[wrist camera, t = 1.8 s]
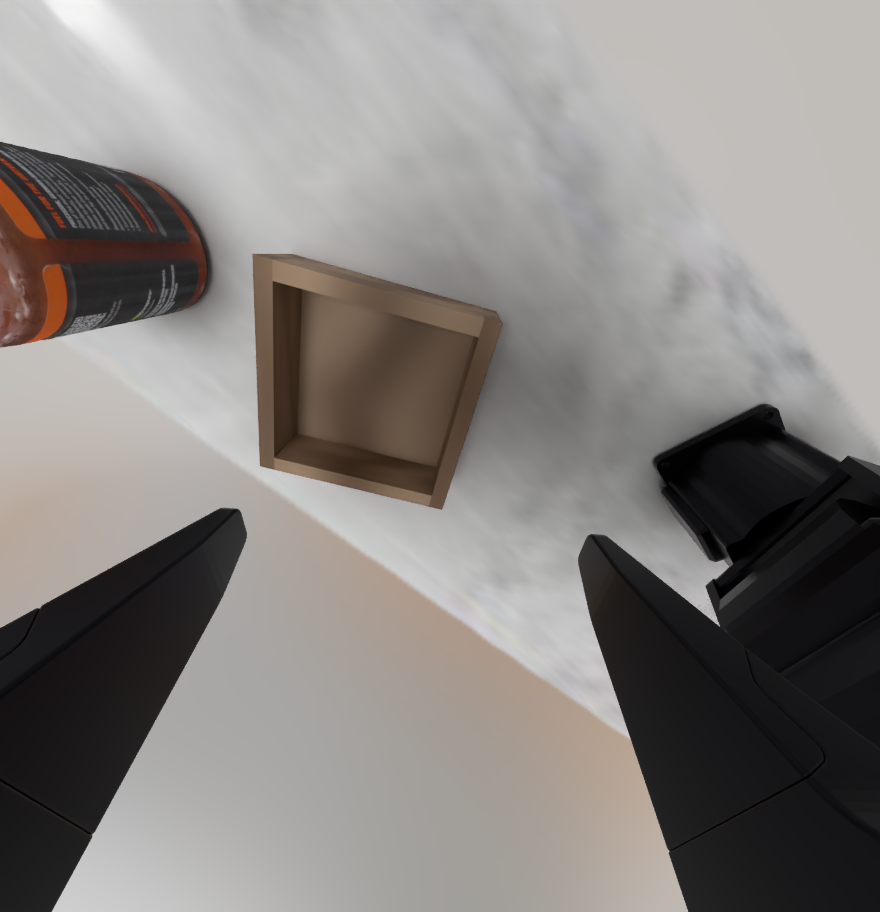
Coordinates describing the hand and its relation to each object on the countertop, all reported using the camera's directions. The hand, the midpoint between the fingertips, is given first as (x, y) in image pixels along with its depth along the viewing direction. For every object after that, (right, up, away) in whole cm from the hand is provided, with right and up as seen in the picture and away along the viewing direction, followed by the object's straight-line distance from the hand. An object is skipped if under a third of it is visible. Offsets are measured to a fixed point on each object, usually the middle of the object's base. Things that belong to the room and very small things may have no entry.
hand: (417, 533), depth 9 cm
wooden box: (-3, +6, +11) cm, 13 cm away
